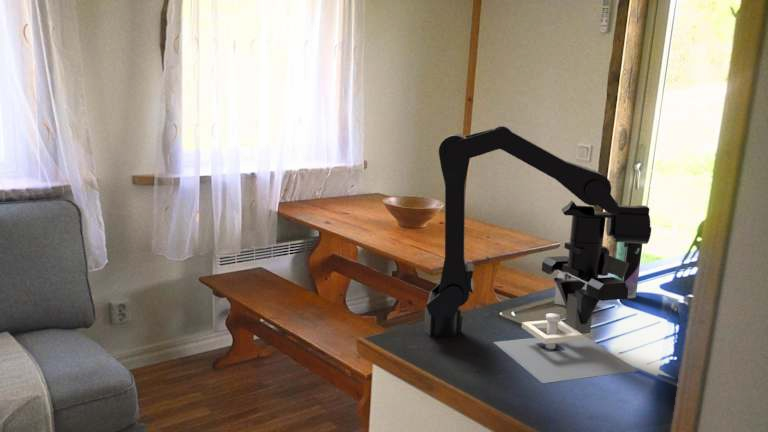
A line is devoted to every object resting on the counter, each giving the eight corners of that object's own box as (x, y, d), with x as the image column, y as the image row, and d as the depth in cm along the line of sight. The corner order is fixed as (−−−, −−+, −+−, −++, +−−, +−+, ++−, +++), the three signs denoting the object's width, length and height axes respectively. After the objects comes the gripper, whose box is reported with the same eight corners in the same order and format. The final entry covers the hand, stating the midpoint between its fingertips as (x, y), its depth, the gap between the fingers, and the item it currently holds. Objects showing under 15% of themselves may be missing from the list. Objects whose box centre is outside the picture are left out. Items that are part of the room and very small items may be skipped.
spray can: (633, 300, 146) (643, 218, 142) (610, 295, 149) (619, 215, 145) (637, 294, 151) (647, 215, 147) (614, 289, 153) (623, 212, 150)
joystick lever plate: (544, 343, 108) (548, 306, 106) (521, 327, 115) (524, 292, 114) (598, 338, 111) (602, 301, 110) (572, 322, 119) (576, 288, 117)
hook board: (541, 391, 99) (545, 347, 98) (492, 349, 115) (495, 311, 113) (638, 378, 105) (643, 337, 103) (578, 340, 121) (582, 303, 119)
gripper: (659, 250, 105) (648, 336, 108) (592, 227, 122) (584, 301, 125) (605, 253, 101) (595, 341, 104) (543, 229, 119) (536, 305, 122)
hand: (578, 320), depth 114 cm, fingers closed on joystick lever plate, 3 cm apart
